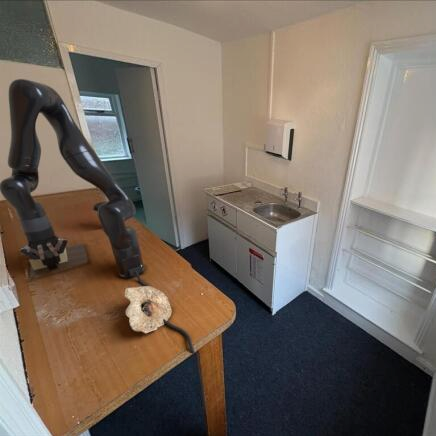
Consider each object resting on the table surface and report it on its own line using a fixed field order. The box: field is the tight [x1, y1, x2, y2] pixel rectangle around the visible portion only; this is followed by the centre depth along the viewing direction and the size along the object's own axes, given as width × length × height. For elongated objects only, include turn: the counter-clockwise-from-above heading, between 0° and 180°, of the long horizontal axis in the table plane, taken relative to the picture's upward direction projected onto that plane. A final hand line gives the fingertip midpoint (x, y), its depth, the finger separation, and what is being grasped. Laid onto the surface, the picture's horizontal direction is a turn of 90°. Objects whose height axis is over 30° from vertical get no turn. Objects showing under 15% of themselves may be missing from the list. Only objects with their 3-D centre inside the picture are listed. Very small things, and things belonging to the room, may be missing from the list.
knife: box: [45, 250, 58, 271], centre depth 98 cm, size 21×2×6 cm, turn 43°
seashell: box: [124, 285, 172, 334], centre depth 81 cm, size 18×14×8 cm
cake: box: [27, 248, 47, 270], centre depth 100 cm, size 12×6×6 cm, turn 44°
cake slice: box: [55, 241, 68, 263], centre depth 104 cm, size 12×3×6 cm, turn 44°
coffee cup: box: [92, 201, 107, 226], centre depth 130 cm, size 10×10×15 cm
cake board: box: [29, 242, 89, 278], centre depth 104 cm, size 20×18×2 cm
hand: (53, 263), depth 96 cm, fingers closed on knife, 2 cm apart
